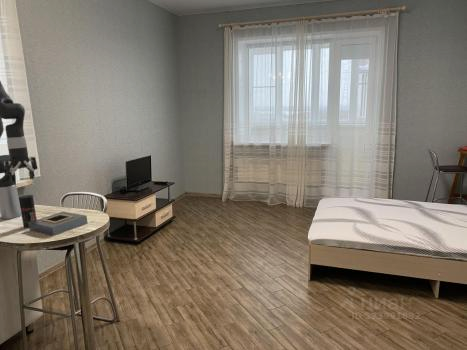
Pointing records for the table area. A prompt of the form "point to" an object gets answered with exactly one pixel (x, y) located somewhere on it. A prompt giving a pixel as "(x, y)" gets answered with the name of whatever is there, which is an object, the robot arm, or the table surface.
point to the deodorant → (27, 209)
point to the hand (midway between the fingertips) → (23, 180)
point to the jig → (57, 223)
